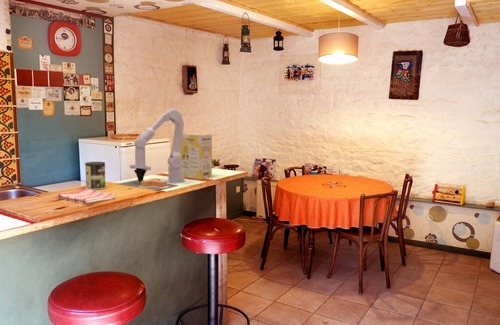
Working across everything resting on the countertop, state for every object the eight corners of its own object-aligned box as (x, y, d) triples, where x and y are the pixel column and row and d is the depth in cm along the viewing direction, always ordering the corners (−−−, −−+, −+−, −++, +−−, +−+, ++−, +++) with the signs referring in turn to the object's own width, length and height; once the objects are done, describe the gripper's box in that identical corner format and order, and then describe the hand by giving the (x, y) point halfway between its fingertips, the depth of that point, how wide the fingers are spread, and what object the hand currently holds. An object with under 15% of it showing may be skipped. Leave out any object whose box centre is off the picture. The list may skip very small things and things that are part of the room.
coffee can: (109, 186, 233) (108, 162, 231) (99, 190, 223) (98, 164, 221) (92, 185, 235) (91, 161, 233) (81, 189, 225) (81, 163, 223)
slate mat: (138, 180, 255) (138, 179, 255) (178, 185, 240) (178, 185, 240) (115, 184, 239) (115, 184, 239) (156, 191, 224) (156, 190, 224)
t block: (155, 183, 244) (155, 178, 244) (171, 185, 238) (171, 180, 238) (140, 186, 234) (140, 181, 233) (157, 188, 228) (156, 183, 227)
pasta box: (211, 177, 270) (211, 134, 267) (200, 179, 262) (200, 135, 258) (191, 174, 281) (191, 133, 277) (180, 176, 273) (180, 133, 269)
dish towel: (87, 193, 217) (86, 186, 217) (117, 199, 205) (116, 192, 205) (57, 199, 203) (56, 192, 203) (87, 206, 191) (87, 198, 190)
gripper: (126, 158, 240) (126, 181, 242) (144, 160, 233) (145, 183, 235) (134, 157, 246) (135, 179, 248) (153, 158, 239) (153, 182, 241)
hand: (140, 181), depth 242 cm, fingers closed
